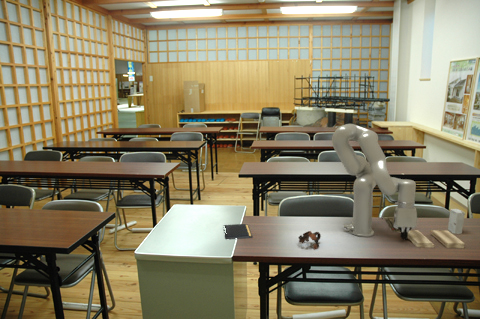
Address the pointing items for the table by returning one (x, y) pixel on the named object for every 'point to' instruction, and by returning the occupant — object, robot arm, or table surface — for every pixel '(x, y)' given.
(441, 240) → the laid board
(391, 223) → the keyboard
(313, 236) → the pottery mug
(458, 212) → the skincare box
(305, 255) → the table surface
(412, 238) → the plank
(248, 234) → the wallet
